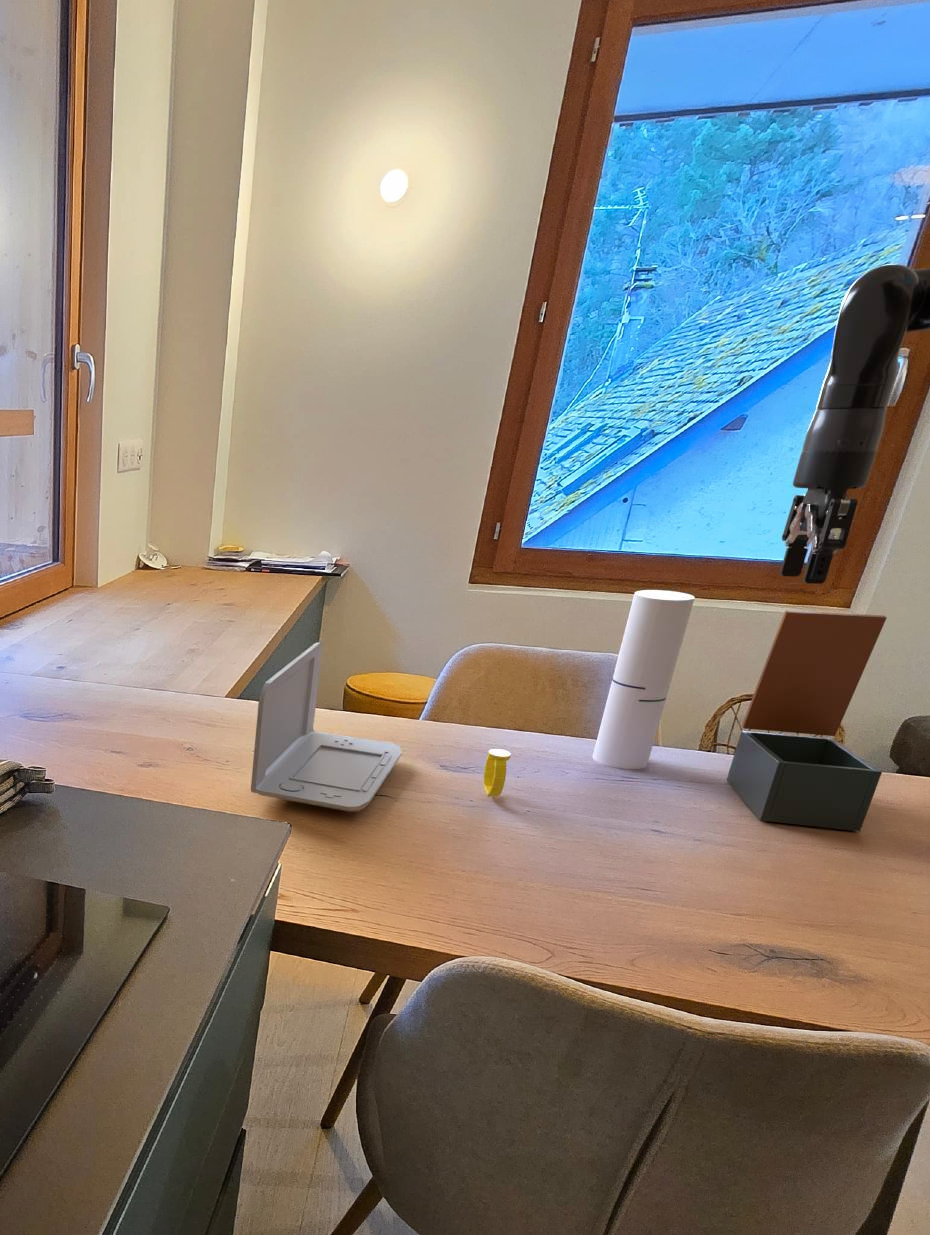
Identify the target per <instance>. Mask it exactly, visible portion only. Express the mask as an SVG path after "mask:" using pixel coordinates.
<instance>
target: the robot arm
mask: <svg viewBox="0 0 930 1235" xmlns="http://www.w3.org/2000/svg"><path fill="white" fill-rule="evenodd" d="M921 331H930V268H921V269H912V268H911V267H909V266H907V265H904V264H897V263H889V264H884V265H880V266H877V267H875V268H872V269H870V270H868V271H867V272H865V273H864V274H863V275H861V276H860V277H859V278H857V279H856V280H855V281H854V282H853V283H852V285H851V286H850V287H849V289H848V290H847V292H846V294H845V295H844V297H843V300H842V302H841V306H840V310H839V313H838V318H837V322H836V326H835V331H834V337H833V343H832V349H831V355H830V356H831V357H830V362H829V365H828V369H827V372H826V374H825V378H824V380H823V383H822V386H821V390H820V394H819V397H818V401H817V404H816V408H815V411H814V414H813V416H812V419H811V421H810V423H809V425H808V429H807V431H806V435H805V439H804V440H803V441H804V442H803V444H802V449H801V452H800V456H799V459H798V464H797V467H796V470H795V474H794V477H793V480H792V486H793V487H794V488H796V489H807V491H806V493H805V494H800V495H799V494H795V495H794V497H793V499H792V503H791V506H790V510H789V512H788V516H787V520H786V523H785V525H784V530H783V533H782V534H781V541H782V542H784V544H785V545H784V546H785V547H786V550H785V553H784V557H783V560H782V563H781V567H780V570H779V574H780V576H782V577H791V578H793V577H795V578H797V577H799V576H801V574H802V572H803V567H804V564H805V561H806V557H807V554H808V550H809V548H808V547H809V546H810V545H811V548H810V549H811V552H810V554H809V558H808V562H807V564H806V567H805V571H804V575H803V577H802V581H803V583H805V584H812V585H813V584H815V585H820V584H824V583H825V582H826V580H827V576H828V574H829V569H830V568H831V567H830V566H831V563H832V560H833V557H834V554H837V552H838V551H839V550H844V549H845V547H846V546H847V542H848V538H849V534H850V531H851V527H852V524H853V520H854V516H855V513H856V509H857V506H858V501H859V500H858V498H847V494H848V491H849V490H853V489H854V490H856V489H862V488H864V487H865V486H866V485H867V484H868V480H869V478H870V475H871V471H872V467H873V464H874V461H875V457H876V454H877V451H878V447H879V445H880V441H881V438H882V434H883V431H884V428H885V421H886V414H887V410H888V409H887V408H888V407H889V403H890V399H891V397H892V393H893V390H894V387H895V383H896V380H897V376H898V371H899V355H900V351H901V348H902V346H903V342H904V338H905V336H906V334H907V333H915V332H921Z"/></svg>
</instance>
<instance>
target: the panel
mask: <svg viewBox="0 0 930 1235" xmlns="http://www.w3.org/2000/svg"><path fill="white" fill-rule="evenodd" d="M887 619H888V617H887V616H886V615H883V614H882V615H881V614H880V615H879V614H863V613H862V614H861V613H844V612H843V613H841V612H823V611H822V612H821V611H819V612H818V611H804V610H803V611H801V610H784V613H783V616H782V618H781V621H780V623H779V626H778V628H777V631H776V634H775V637H774V639H773V642H772V644H771V647H770V650H769V652H768V655H767V658H766V661H765V663H764V666H763V669H762V670H761V674H760V677H759V679H758V682H757V685H756V687H755V690H754V693H753V695H752V698H751V701H750V703H749V705H748V709H747V711H746V714H745V716H744V719H743V722H742V724H741V728H742V729H745V730H755V731H767V732H779V733H791V734H793V733H794V734H802V735H803V734H804V735H817V736H825V737H826V736H827V737H836V735H837V733H838V731H839V729H840V726H841V724H842V721H843V720H844V717H845V715H846V713H847V710H848V708H849V705H850V704H851V701H852V698H853V696H854V694H855V692H856V690H857V687H858V685H859V682H860V680H861V678H862V676H863V673H864V671H865V669H866V667H867V664H868V662H869V659H870V657H871V655H872V653H873V650H874V648H875V646H876V644H877V641H878V639H879V636H880V635H881V632H882V630H883V628H884V625H885V623H886V621H887Z"/></svg>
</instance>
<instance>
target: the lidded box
mask: <svg viewBox="0 0 930 1235" xmlns="http://www.w3.org/2000/svg"><path fill="white" fill-rule="evenodd" d="M882 774H883V772H882V771H881V769H878V768H877V767H875V766H874V765H873V764H872V763H870V762H868V761H867V760H865V759H864V758H863V757H861V756H859V755H858V754H857V753H855V752H853V751H852V750H850V748H848V747H846V746H845V745H843V744H842V743H840V742H839V741H837V740H836V739H834V737H833V738H831V737H822V736H821V737H820V736H809V735H799V734H798V735H796V734H786V733H785V734H784V733H774V732H763V731H762V732H761V731H751V730H750V731H748V730H741V731H740V734H739V738H738V741H737V744H736V748H735V751H734V754H733V757H732V761H731V764H730V767H729V771H728V774H727V777H726V782H727V784H729V786H730V787H731V789H732V790H733V791H734V792H735V794H736V795H737V797H738V798H739V799H740V801H741V802H742V803H743V804H744V805H745V806H746V808H748V809H749V810H750V812H752V814H753V815H754V816H755V817H756V818H757V819H758V820H759V821H762V822H772V823H781V824H789V825H798V826H809V827H817V828H826V829H835V830H844V831H853V832H861V830H862V827H863V826H864V822H865V819H866V817H867V814H868V811H869V809H870V807H871V803H872V801H873V797H874V796H875V793H876V790H877V787H878V784H879V782H880V779H881V776H882Z"/></svg>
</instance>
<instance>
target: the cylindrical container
mask: <svg viewBox="0 0 930 1235" xmlns="http://www.w3.org/2000/svg"><path fill="white" fill-rule="evenodd" d="M694 603H695V596H694V595H692V594H689V593H685V592H680V591H674V590H665V589H664V590H663V589H644V590H637V591H634V594H633V598H632V602H631V605H630V609H629V613H628V618H627V621H626V625H625V628H624V633H623V636H622V641H621V644H620V648H619V652H618V656H617V659H616V664H615V668H614V672H613V675H612V679H611V684H610V686H609V692H608V695H607V698H606V699H607V700H606V704H605V706H604V711H603V714H602V719H601V722H600V725H599V726H600V727H599V730H598V734H597V739H596V743H595V745H594V750H593V753H592V759H593V760H594V761H595V762H597V763H599V764H601V765H604V766H607V767H611V768H615V769H622V770H639V769H644V768H647V766H648V764H649V760H650V757H651V753H652V750H653V747H654V743H655V739H656V736H657V733H658V728H659V726H660V721H661V718H662V714H663V711H664V707H665V704H666V701H667V696H668V693H669V690H670V687H671V682H672V679H673V676H674V672H675V670H676V669H675V668H676V665H677V662H678V658H679V655H680V651H681V648H682V644H683V640H684V637H685V633H686V631H687V630H686V629H687V627H688V623H689V619H690V616H691V612H692V610H693V609H692V608H693V605H694Z"/></svg>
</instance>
